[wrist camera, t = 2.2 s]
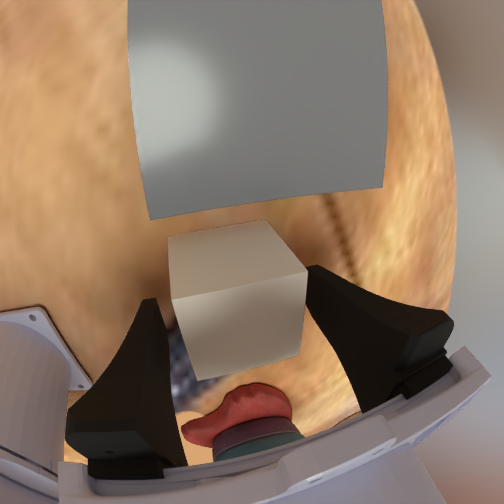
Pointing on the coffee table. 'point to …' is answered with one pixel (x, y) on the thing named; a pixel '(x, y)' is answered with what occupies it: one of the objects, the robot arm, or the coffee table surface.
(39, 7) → the coffee table surface
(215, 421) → the stacking bear
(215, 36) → the plate
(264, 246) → the block
